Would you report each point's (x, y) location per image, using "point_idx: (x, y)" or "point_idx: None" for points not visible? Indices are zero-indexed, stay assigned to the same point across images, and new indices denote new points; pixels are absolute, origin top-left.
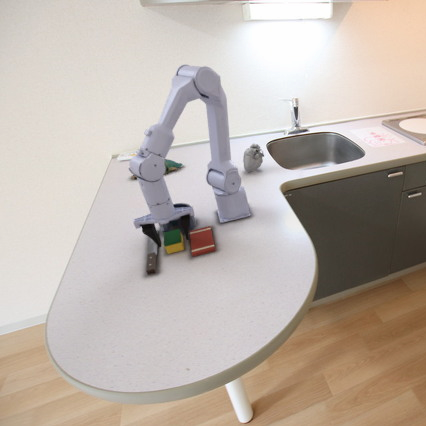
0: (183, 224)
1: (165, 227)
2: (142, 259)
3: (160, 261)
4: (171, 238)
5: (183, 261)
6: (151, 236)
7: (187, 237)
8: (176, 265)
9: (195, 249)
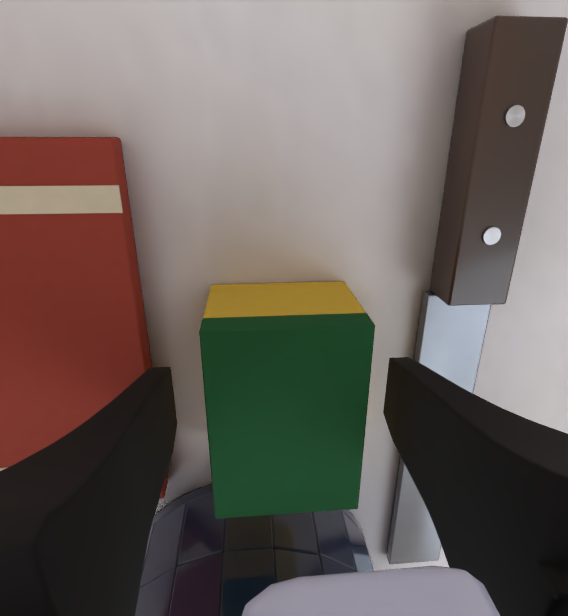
0: (25, 503)
1: (341, 568)
2: (528, 292)
3: (407, 202)
4: (294, 396)
5: (209, 102)
6: (521, 428)
7: (142, 380)
8: (275, 64)
9: (81, 210)
